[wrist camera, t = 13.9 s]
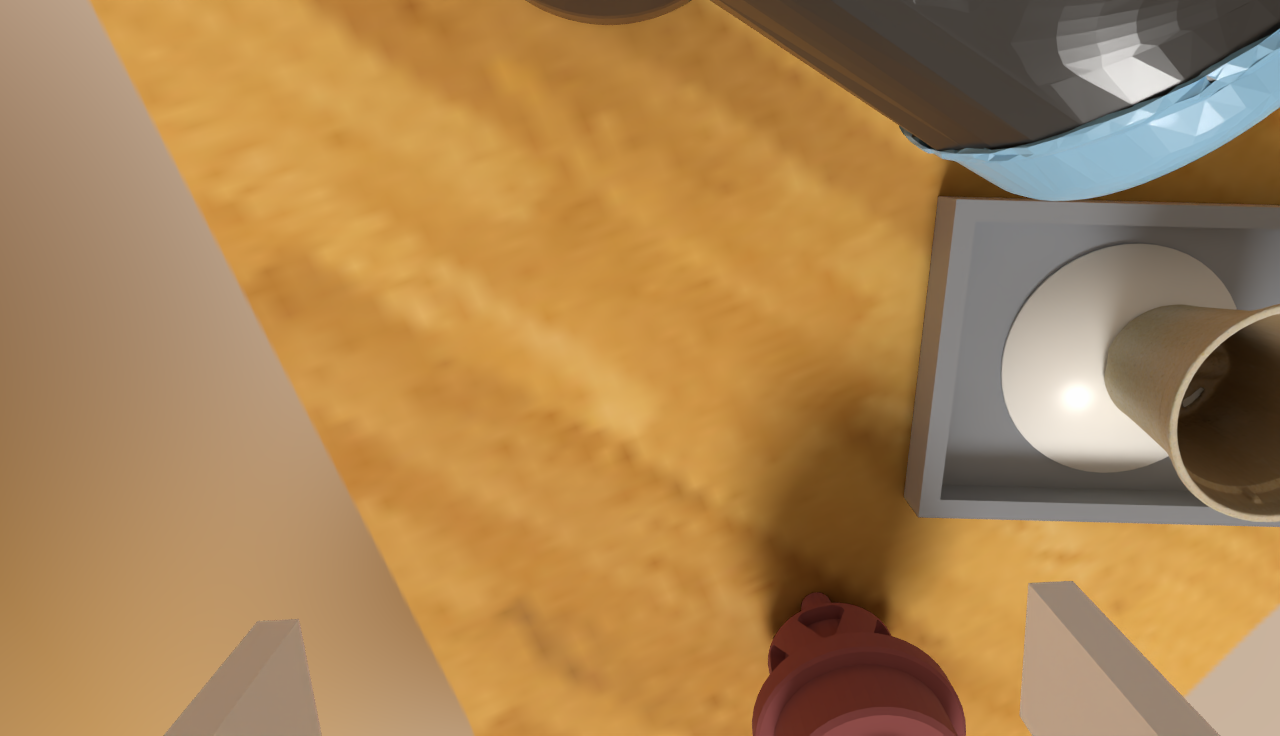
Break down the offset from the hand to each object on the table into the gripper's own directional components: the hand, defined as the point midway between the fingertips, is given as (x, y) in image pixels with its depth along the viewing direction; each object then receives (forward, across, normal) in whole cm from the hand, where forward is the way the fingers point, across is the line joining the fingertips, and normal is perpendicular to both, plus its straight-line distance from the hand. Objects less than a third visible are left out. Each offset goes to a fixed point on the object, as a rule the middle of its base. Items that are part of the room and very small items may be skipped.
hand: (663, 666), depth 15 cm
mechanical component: (+29, +9, -19) cm, 35 cm away
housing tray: (+29, +24, -3) cm, 37 cm away
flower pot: (+28, +26, -3) cm, 38 cm away
